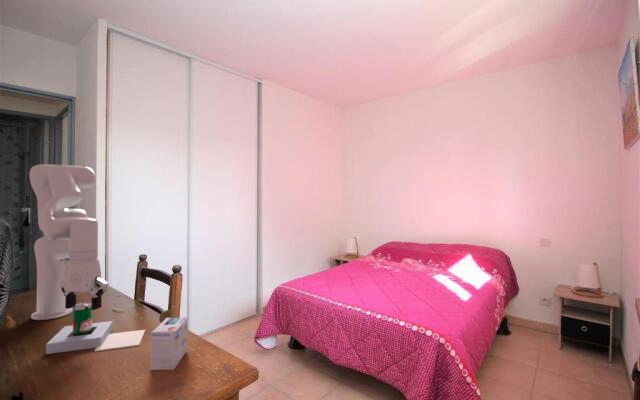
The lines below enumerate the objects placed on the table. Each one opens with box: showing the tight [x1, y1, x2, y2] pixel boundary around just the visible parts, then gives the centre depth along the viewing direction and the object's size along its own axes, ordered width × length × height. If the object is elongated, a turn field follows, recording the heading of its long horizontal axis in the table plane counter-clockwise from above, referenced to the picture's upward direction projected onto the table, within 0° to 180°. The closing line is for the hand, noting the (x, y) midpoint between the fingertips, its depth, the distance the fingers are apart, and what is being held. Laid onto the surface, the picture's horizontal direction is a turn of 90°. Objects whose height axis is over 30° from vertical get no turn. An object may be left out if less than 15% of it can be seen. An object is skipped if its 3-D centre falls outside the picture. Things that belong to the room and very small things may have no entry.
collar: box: [45, 320, 114, 355], centre depth 103 cm, size 14×14×3 cm
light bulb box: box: [150, 316, 189, 371], centre depth 91 cm, size 11×7×11 cm, turn 5°
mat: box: [93, 329, 146, 353], centre depth 103 cm, size 12×12×1 cm
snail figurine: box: [158, 301, 177, 324], centre depth 104 cm, size 5×6×12 cm
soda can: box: [72, 301, 93, 336], centre depth 103 cm, size 5×5×12 cm
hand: (83, 308), depth 102 cm, fingers open, 9 cm apart
